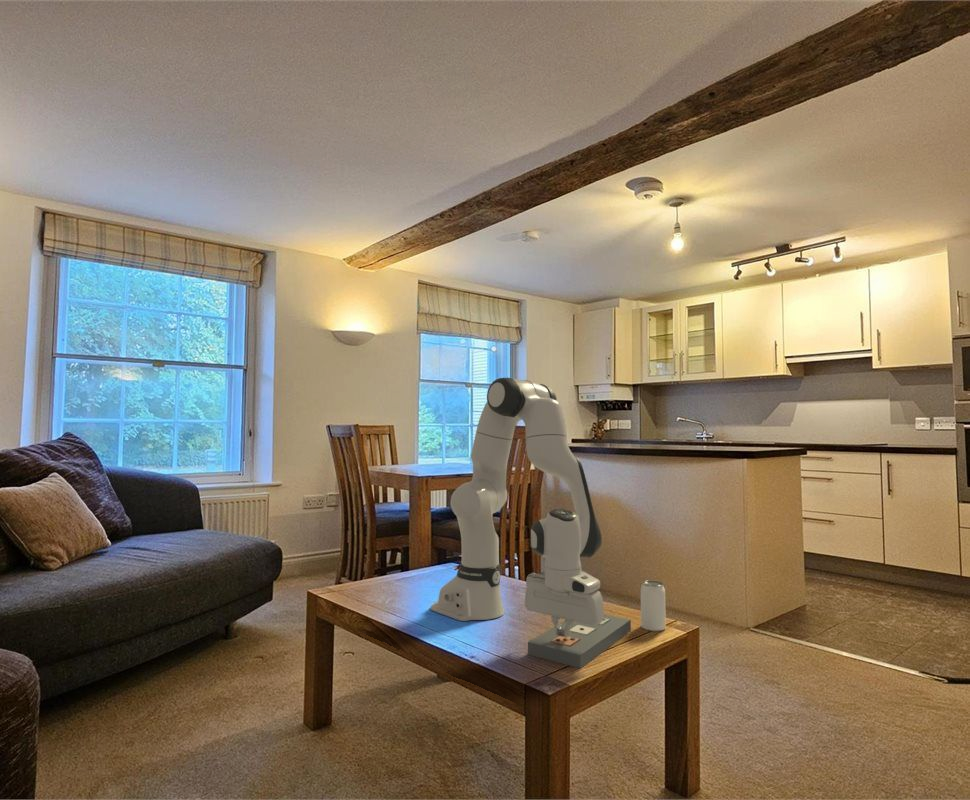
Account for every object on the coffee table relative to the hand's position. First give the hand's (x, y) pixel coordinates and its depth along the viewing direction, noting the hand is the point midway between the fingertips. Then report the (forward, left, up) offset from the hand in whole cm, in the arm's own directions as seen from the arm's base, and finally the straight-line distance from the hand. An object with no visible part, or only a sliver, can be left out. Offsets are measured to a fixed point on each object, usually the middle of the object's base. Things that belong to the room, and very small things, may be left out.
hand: (562, 635), depth 142 cm
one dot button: (+1, +9, -4) cm, 10 cm away
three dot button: (+1, +1, -4) cm, 4 cm away
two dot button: (+1, +19, -4) cm, 19 cm away
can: (+12, +31, -4) cm, 33 cm away
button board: (+1, +10, -4) cm, 10 cm away
